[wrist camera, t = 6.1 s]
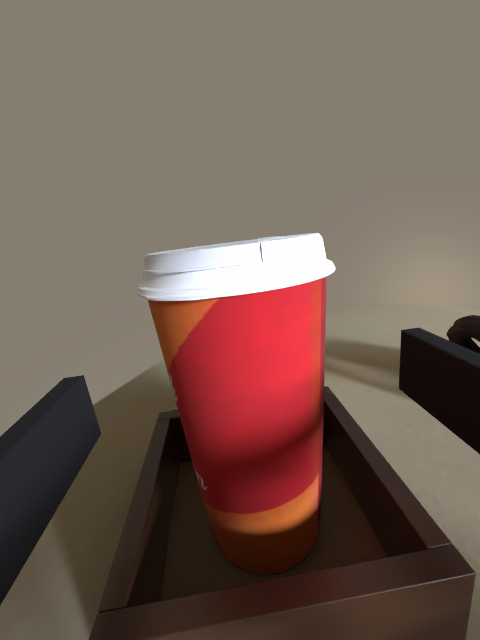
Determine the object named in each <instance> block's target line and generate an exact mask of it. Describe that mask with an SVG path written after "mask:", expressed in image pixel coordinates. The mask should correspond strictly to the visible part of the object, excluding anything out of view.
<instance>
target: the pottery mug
mask: <svg viewBox="0 0 480 640" xmlns="http://www.w3.org/2000/svg"><path fill="white" fill-rule="evenodd" d="M447 336H448V338H449V341H451V342H453V343H455V344H458V345H460V346H462V347H465V348H467V349H469V350H471V351H474V352H476V353H478V354H480V347H479V346H478V345H477V344H476V343H475V342H474V341H473V340H472V339H471V337H472V338H474V339H476V340H478V341H479V342H480V316H476V315H471V316H466V317H462V318H460V319H458V320H456V321H455V322H454V325H453V326H452V327H451V328H450V329H449V330H448V332H447Z"/></svg>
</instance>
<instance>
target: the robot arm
mask: <svg viewBox="0 0 480 640" xmlns="http://www.w3.org/2000/svg"><path fill="white" fill-rule="evenodd" d="M399 389H400V390H401V391H403V392H404V393H405V394H406V395H408V396H409V397H410V398H411V399H412V400H414V401H415V402H416V403H417V404H419V405H420V406H421V407H422V408H424V409H425V410H426V411H427V412H428V413H430V414H431V415H432V416H433V417H435V418H436V419H437V420H438V421H440V422H441V423H442V424H443V425H444V426H446V427H447V428H448V429H449V430H451V431H452V432H453V433H454V434H456V435H457V436H458V437H459V438H461V439H462V440H463V441H464V442H465V443H467V444H468V445H469V446H470V447H472V448H473V449H474V450H475V451H477V452H478V453H479V454H480V354H478V353H476V352H474V351H471V350H469V349H467V348H465V347H462V346H460V345H458V344H455V343H453V342H451V341H448V340H446V339H444V338H441V337H439V336H437V335H435V334H432V333H430V332H428V331H425V330H423V329H421V328H414V329H406V330H401V352H400V376H399ZM100 435H101V432H100V428H99V425H98V422H97V418H96V415H95V412H94V408H93V405H92V402H91V398H90V395H89V392H88V388H87V385H86V382H85V378H84V376H76V377H70V378H64V379H63V380H62V381H60V382H59V383H58V385H56V386H55V387H54V388H53V389H52V390H51V391H50V392H49V393H47V394H46V395H45V396H44V397H43V398H42V399H41V400H40V401H39V402H38V403H37V404H35V405H34V406H33V407H32V408H31V409H30V410H29V411H28V412H27V413H26V414H25V415H23V416H22V417H21V418H20V419H19V420H18V421H17V422H16V423H15V424H14V425H13V426H11V427H10V428H9V429H8V430H7V431H6V432H5V433H4V434H3V435H2V436H1V437H0V605H1V603H2V602H3V600H4V598H5V597H6V595H7V593H8V591H9V590H10V588H11V586H12V585H13V583H14V581H15V580H16V578H17V576H18V574H19V573H20V571H21V569H22V568H23V566H24V564H25V563H26V561H27V559H28V557H29V556H30V554H31V552H32V551H33V549H34V547H35V545H36V544H37V542H38V540H39V539H40V537H41V535H42V534H43V532H44V530H45V528H46V527H47V525H48V523H49V522H50V520H51V518H52V517H53V515H54V513H55V511H56V510H57V508H58V506H59V505H60V503H61V501H62V500H63V498H64V496H65V494H66V493H67V491H68V489H69V488H70V486H71V484H72V483H73V481H74V479H75V477H76V476H77V474H78V472H79V471H80V469H81V467H82V466H83V464H84V462H85V460H86V459H87V457H88V455H89V454H90V452H91V450H92V449H93V447H94V445H95V443H96V442H97V440H98V438H99V437H100Z"/></svg>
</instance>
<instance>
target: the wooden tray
mask: <svg viewBox="0 0 480 640" xmlns="http://www.w3.org/2000/svg"><path fill="white" fill-rule="evenodd" d="M323 440H324V442H325V444H326V445H327V447H328V449H329V451H330V453H331V454H332V456H333V458H334V460H335V462H336V463H337V465H338V467H339V469H340V471H341V472H342V474H343V476H344V478H345V480H346V481H347V483H348V485H349V487H350V489H351V490H352V492H353V494H354V496H355V498H356V499H357V501H358V503H359V505H360V507H361V508H362V510H363V512H364V514H365V516H366V517H367V519H368V521H369V523H370V525H371V526H372V528H373V530H374V532H375V534H376V535H377V537H378V539H379V541H380V542H381V544H382V546H383V548H384V550H385V551H386V553H387V555H388V557H386V558H381V559H376V560H370V561H365V562H360V563H355V564H350V565H345V566H340V567H334V568H329V569H324V570H319V571H314V572H309V573H303V574H298V575H293V576H288V577H283V578H278V579H273V580H267V581H262V582H257V583H252V584H247V585H242V586H236V587H231V588H226V589H221V590H216V591H211V592H206V593H200V594H195V595H190V596H185V597H180V598H175V599H170V600H164V601H159V597H160V590H161V583H162V576H163V570H164V563H165V556H166V549H167V543H168V536H169V529H170V522H171V515H172V509H173V502H174V495H175V488H176V482H177V475H178V468H179V461H185V460H191V459H192V458H191V455H190V451H189V447H188V444H187V440H186V437H185V433H184V429H183V426H182V422H181V418H180V415H179V411H178V410H173V411H167V412H160V413H159V415H158V418H157V421H156V425H155V428H154V431H153V434H152V438H151V441H150V444H149V447H148V451H147V454H146V457H145V460H144V464H143V467H142V470H141V473H140V477H139V480H138V483H137V486H136V490H135V493H134V496H133V500H132V503H131V506H130V509H129V513H128V516H127V519H126V522H125V526H124V529H123V532H122V535H121V539H120V542H119V545H118V548H117V552H116V555H115V558H114V561H113V565H112V568H111V571H110V574H109V578H108V581H107V584H106V587H105V591H104V594H103V597H102V601H101V604H100V607H99V610H98V614H97V616H96V619H95V622H94V625H93V629H92V632H91V635H90V638H89V640H465V639H466V633H467V627H468V620H469V614H470V607H471V601H472V595H473V588H474V582H475V575H476V574H475V572H474V570H473V569H472V568H471V567H470V565H469V564H468V563H467V561H466V560H465V559H464V558H463V556H462V555H461V554H460V553H459V551H458V550H457V549H456V548H455V546H454V545H452V544H451V542H450V540H449V539H448V538H447V537H446V535H445V534H444V533H443V532H442V530H441V529H440V528H439V526H438V525H437V524H436V523H435V521H434V520H433V519H432V518H431V516H430V515H429V514H428V513H427V511H426V510H425V509H424V507H423V506H422V505H421V504H420V502H419V501H418V500H417V499H416V497H415V496H414V495H413V494H412V492H411V491H410V490H409V488H408V487H407V486H406V485H405V483H404V482H403V481H402V480H401V478H400V477H399V476H398V475H397V473H396V472H395V471H394V470H393V468H392V467H391V466H390V464H389V463H388V462H387V461H386V459H385V458H384V457H383V456H382V454H381V453H380V452H379V451H378V449H377V448H376V447H375V445H374V444H373V443H372V442H371V440H370V439H369V438H368V437H367V435H366V434H365V433H364V432H363V430H362V429H361V428H360V426H359V425H358V424H357V423H356V421H355V420H354V419H353V418H352V416H351V415H350V414H349V413H348V411H347V410H346V409H345V407H344V406H343V405H342V404H341V402H340V401H339V400H338V399H337V397H336V396H335V395H334V394H333V393H332V391H331V390H330V389H329V387H324V411H323Z"/></svg>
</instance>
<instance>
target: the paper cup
mask: <svg viewBox="0 0 480 640" xmlns="http://www.w3.org/2000/svg"><path fill="white" fill-rule="evenodd" d="M144 264H145V265H144V266H145V270H144V271H143V279H144V282H143V283H141V284H140V285H139V286H138V290H137V294H138V295H139V296H141V297H143V298H146V299H148V302H149V306H150V309H151V313H152V317H153V320H154V324H155V328H156V331H157V334H158V338H159V342H160V346H161V349H162V353H163V357H164V360H165V364H166V367H167V371H168V375H169V378H170V382H171V386H172V389H173V393H174V397H175V400H176V404H177V408H178V411H179V415H180V418H181V422H182V426H183V429H184V433H185V437H186V440H187V444H188V447H189V451H190V455H191V458H192V462H193V465H194V469H195V473H196V476H197V480H198V483H199V487H200V490H201V494H202V497H203V501H204V504H205V508H206V511H207V514H208V518H209V521H210V524H211V527H212V530H213V533H214V536H215V539H216V541H217V543H218V545H219V547H220V549H221V551H222V552H223V553H224V555H225V556H226V557H227V558H228V559H229V560H230V561H231V562H232V563H234V564H235V565H236V566H238V567H240V568H242V569H244V570H247V571H249V572H253V573H258V574H273V573H279V572H282V571H285V570H288V569H290V568H292V567H293V566H295V565H297V564H298V563H299V562H301V561H302V560H303V559H304V558H305V557H306V556H307V555H308V553H309V552H310V550H311V549H312V547H313V545H314V543H315V541H316V538H317V534H318V530H319V522H320V508H321V484H322V451H323V411H324V364H325V319H326V276H327V275H329V274H331V273H333V272H334V271H335V266H334V264H333V262H332V261H330V260H327V259H326V255H325V250H324V244H323V239H322V237H321V235H320V234H319V233H312V234H300V235H290V236H284V237H278V236H275V237H267V238H258V239H256V240H247V241H239V242H230V243H223V244H215V245H207V246H199V247H192V248H185V249H178V250H171V251H164V252H158V253H151V254H146V257H145V259H144Z"/></svg>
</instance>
